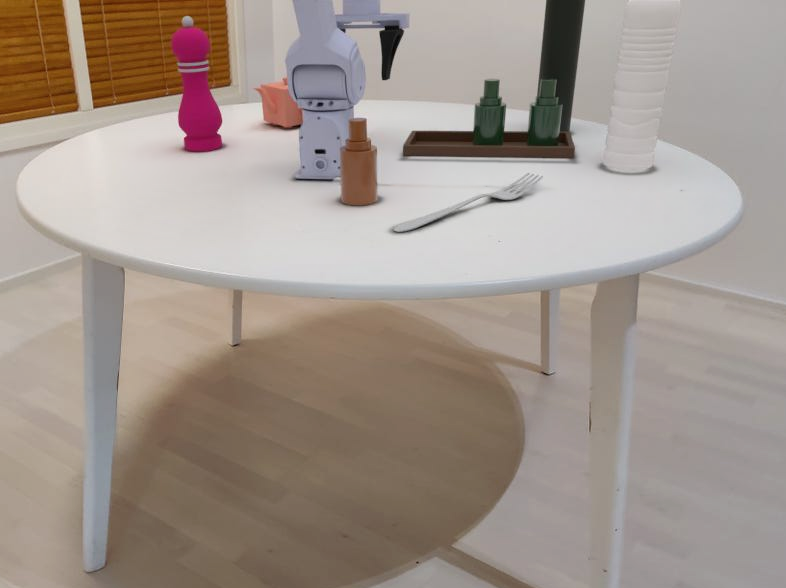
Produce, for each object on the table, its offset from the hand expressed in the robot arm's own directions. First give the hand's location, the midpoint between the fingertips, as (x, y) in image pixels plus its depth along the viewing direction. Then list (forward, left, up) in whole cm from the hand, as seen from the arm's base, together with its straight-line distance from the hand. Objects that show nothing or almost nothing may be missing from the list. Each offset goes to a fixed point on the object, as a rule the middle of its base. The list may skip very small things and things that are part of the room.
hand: (362, 79), depth 112 cm
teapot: (+15, +17, -10) cm, 25 cm away
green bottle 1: (-5, -20, -10) cm, 23 cm away
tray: (-5, -20, -10) cm, 23 cm away
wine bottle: (+9, -30, -10) cm, 33 cm away
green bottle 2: (-5, -28, -10) cm, 30 cm away
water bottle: (-12, -40, -10) cm, 43 cm away
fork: (-33, -19, -10) cm, 39 cm away
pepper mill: (-4, +27, -10) cm, 29 cm away
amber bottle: (-31, -5, -10) cm, 33 cm away
